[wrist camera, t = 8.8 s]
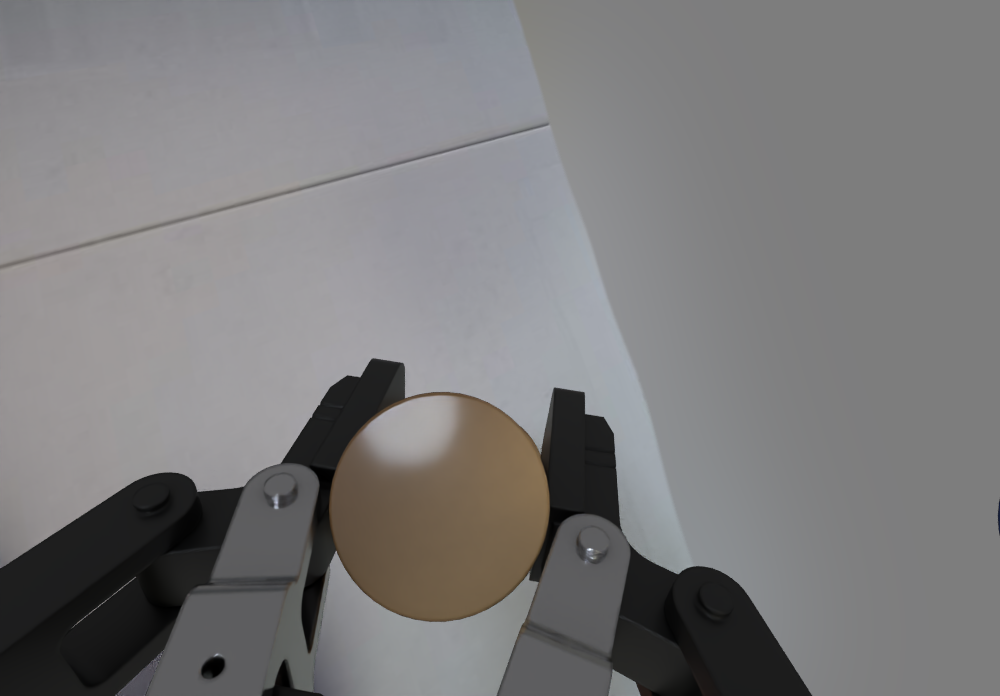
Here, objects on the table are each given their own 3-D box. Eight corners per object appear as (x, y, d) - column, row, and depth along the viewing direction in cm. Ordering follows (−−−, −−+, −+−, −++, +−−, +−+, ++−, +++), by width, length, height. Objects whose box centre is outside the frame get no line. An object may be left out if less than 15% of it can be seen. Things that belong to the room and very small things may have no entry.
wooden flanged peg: (564, 457, 21) (643, 458, 9) (498, 563, 21) (479, 733, 8) (465, 392, 22) (403, 304, 9) (398, 493, 21) (230, 546, 9)
